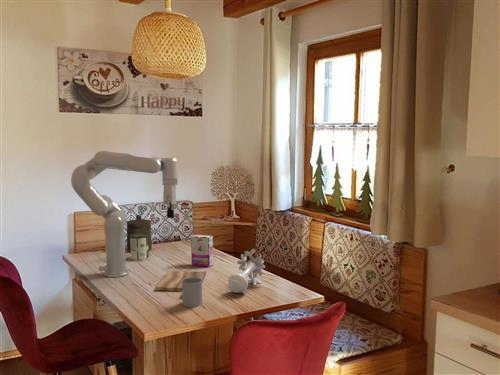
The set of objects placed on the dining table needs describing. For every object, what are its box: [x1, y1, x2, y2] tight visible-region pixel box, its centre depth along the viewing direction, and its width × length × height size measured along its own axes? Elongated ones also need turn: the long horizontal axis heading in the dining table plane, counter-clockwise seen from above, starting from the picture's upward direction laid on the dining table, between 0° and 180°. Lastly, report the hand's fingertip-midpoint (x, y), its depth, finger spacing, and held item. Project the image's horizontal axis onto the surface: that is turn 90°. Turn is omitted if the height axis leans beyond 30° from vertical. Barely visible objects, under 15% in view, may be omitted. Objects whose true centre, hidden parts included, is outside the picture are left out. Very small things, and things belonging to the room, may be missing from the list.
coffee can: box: [130, 233, 150, 262], centre depth 298 cm, size 10×10×14 cm
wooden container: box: [126, 214, 153, 253], centre depth 320 cm, size 15×15×22 cm
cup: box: [181, 278, 203, 308], centre depth 220 cm, size 8×8×10 cm
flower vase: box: [227, 248, 266, 294], centre depth 241 cm, size 13×18×25 cm
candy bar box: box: [190, 234, 214, 268], centre depth 282 cm, size 11×5×16 cm, turn 68°
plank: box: [156, 270, 186, 292], centre depth 252 cm, size 9×28×1 cm, turn 178°
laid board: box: [176, 270, 207, 292], centre depth 251 cm, size 10×28×2 cm, turn 178°
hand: (170, 217), depth 266 cm, fingers closed
